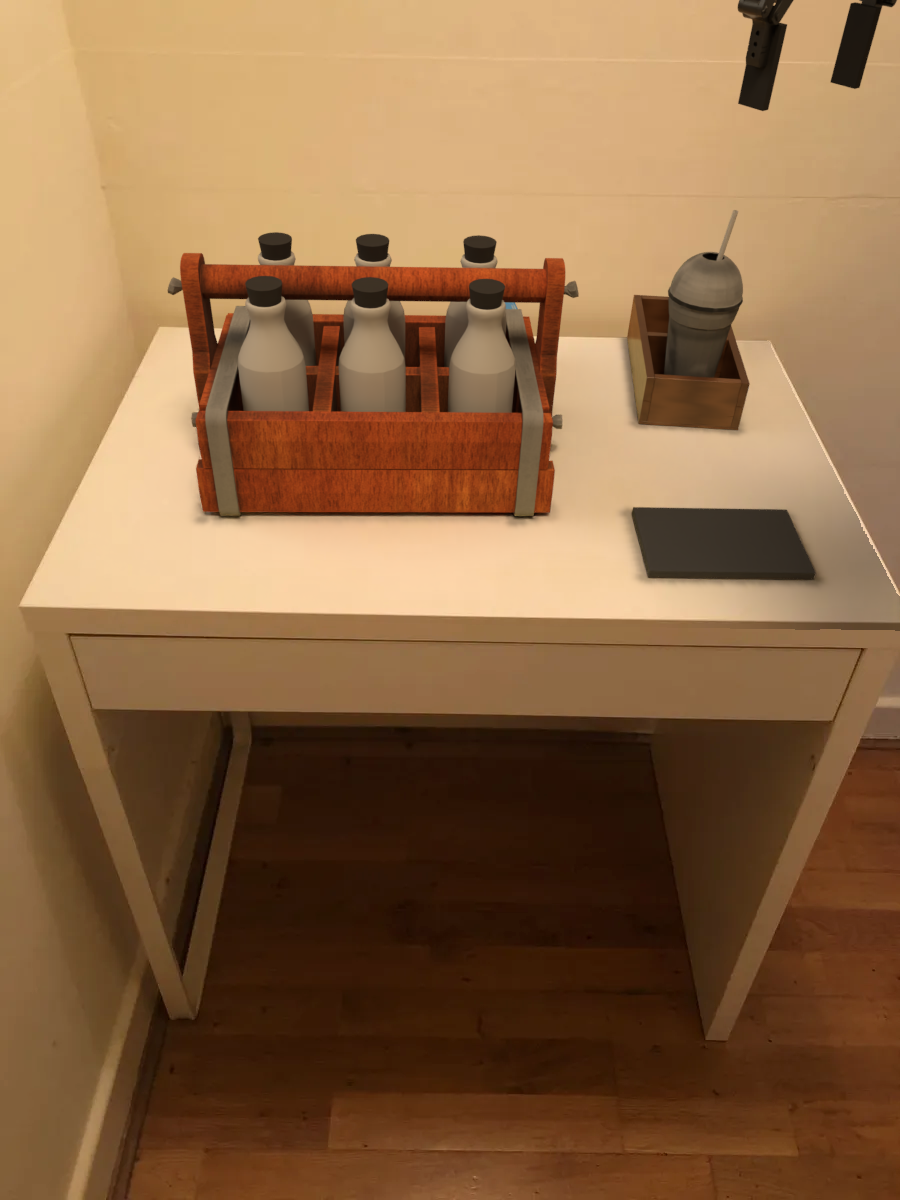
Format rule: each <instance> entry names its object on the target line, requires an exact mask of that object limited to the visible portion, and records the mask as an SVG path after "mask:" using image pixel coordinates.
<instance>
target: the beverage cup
mask: <svg viewBox="0 0 900 1200" xmlns="http://www.w3.org/2000/svg"><path fill="white" fill-rule="evenodd" d="M738 214H739V210H737V209H733V210H732V212H731V216H730V219H729V221H728V224H727V227H726V230H725V233H724V236H723V239H722V242H721V244H720V248H719V251H718V252H716V251H705V252H704V251H703V252H699V253H697V254H695V255H693V256H691V257H689V258H687V259H686V260H685V261H684V262H683V263H682V264H681V265H680V267H679V268H678V269H677V271H676V272H675V274H674V276H673V278H672V280H671V283H670V286H669V287H668V289H667V297H669V324H668V334H667V344H666V355H665V365H664V375H677V376H693V377H709V378H714V376H715V373H716V370H717V367H718V364H719V361H720V358H721V355H722V352H723V349H724V345H725V342H726V339H727V336H728V333H729V330H730V327H731V326H732V324H733V322H734V321H735V319H736V317H737V315H738V312H739V310H740V307H741V306H742V304H743V303H744V300H743V299H744V298H743V294H744V283H743V277H742V274H741V271H740V269H739V267H738V266H737V264H735V263H736V262H734V261H733V260H732V259H731V258H729V257H728V256H727V255H725V252H726V251H727V247H728V244H729V241H730V238H731V234H732V232H733V229H734V226H735V223H736V220H737V217H738Z"/></svg>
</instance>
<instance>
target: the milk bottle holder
mask: <svg viewBox="0 0 900 1200" xmlns="http://www.w3.org/2000/svg"><path fill="white" fill-rule="evenodd" d="M257 240H258V245H259V248H260V252H259V254H258V255H257V262H258V264H225V263H224V264H223V263H222V264H221V263H220V264H218V263H216V264H215V263H213V264H212V263H206V260H205V257H204V254H203V253H202V252H183V253H182V255H181V257H180V263H179V276H180V279H179V278H176V277H174V276H173V277H172V278H171V279H170V280H169V283H168V286H167V294H169V295H172V296H175V295H176V294H179V293H180V292H182V295H183V301H184V308H185V314H186V320H187V321H186V322H187V328H188V334H189V339H190V347H191V354H192V355H191V356H192V374H193V379H194V385H195V386H194V387H195V391H196V398H197V404H198V411H193V412H191V417H190V418H191V426H192V427H193V428H196V434H197V435H196V437H197V443H198V448H199V453H200V458H198V461H197V464H196V468H195V471H196V479H197V486H198V487H197V488H198V493H199V498H200V503H201V507H202V513H219V516H223V517H224V516H231V517H232V516H233V517H234V516H235V517H236V516H237V517H238V516H241V515H242V513H513V516H514V517H534V514H535V513H551V506H552V502H553V501H552V499H553V493H554V483H555V472H556V470H555V465H554V461H553V460H550V456H551V455H550V454H551V447H552V440H553V439H552V437H553V428H554V429H556V430H562V429H563V414H554V415H553V409H554V400H555V393H556V391H555V390H556V382H557V369H558V368H557V367H558V351H559V342H560V341H559V340H560V331H561V323H562V315H563V314H562V313H563V304H564V298H565V297H564V295H566V296H568V297H570V298H572V299H575V298H578V297H579V295H580V294H579V288H578V284H577V281H576V280H573V281H569V282H568V283H567V284H566V263H565V260H564V258H563V257H545V258H544V259H543V260H544V261H543V267H542V268H522V267H521V268H517V267H515V268H513V267H511V268H510V267H497V265H498V258H497V257H496V255H495V253H496V248H497V244H498V243H497V240H496V239H495V238H493V237H491V236H486V235H479V234H478V235H470V236H466V237H465V238H464V239H463V241H462V244H463V251H464V254H462V255H461V259H460V265H461V267H449V266H447V267H445V266H443V267H441V266H440V267H438V266H437V267H436V266H435V267H434V266H391V264H392V261H393V259H392V257H391V254H390V253H389V247H390V238H389V237H388V236H386V235H383V234H381V233H380V234H379V233H366V234H360V235H359V236H357V237H356V238H355V244H356V249H357V253H356V254H355V256H354V259H353V260H354V263H355V265H298V264H297V265H295V264H296V255H295V253H294V252H293V251H292V247H293V246H292V245H293V237H292V235H290V234H289V233H286V232H279V231H276V232H275V231H274V232H267V233H263V234H261V235H259V236H258V238H257ZM211 300H245V301H244V303H245V304H244V305H235V307H234V311H233V312H228V313H227V314H226V315H225V318H224V322H223V325H222V329H221V332H220V335H219V338H218V340H217V337H216V333H215V332H216V331H215V324H214V317H213V310H212V303H211V302H212V301H211ZM309 301H346V303H345V306H344V310H343V314H342V313H339V314H337V313H336V314H335V313H329V314H328V313H313V311H312V306H311V303H310V302H309ZM402 302H431V303H432V302H437V303H438V302H441V303H449V304H448V306H447V309H446V312H445V313H446V314H445V315H437V314H435V315H434V314H433V315H431V314H430V315H428V314H427V315H426V314H425V315H424V314H423V315H422V314H405V308H404V307H403V304H402ZM504 302H514V303H515V304H518V303H520V304H522V303H526V304H529V303H531V304H532V303H533V304H539V306H538V318H537V326H536V327H537V328H536V339H535V336H534V333H533V328H532V324H531V323H532V322H531V318H530V317H531V316H523V315H524V314H523V310H522V309H521V308H518V309H506V304H505V303H504Z"/></svg>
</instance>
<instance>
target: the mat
mask: <svg viewBox="0 0 900 1200" xmlns="http://www.w3.org/2000/svg"><path fill="white" fill-rule="evenodd" d="M631 516H632V520H633V523H634V528H635V531H636V535H637V539H638V543H639V547H640V550H641V554H642V559H643V562H644V566H645V570H646V574H647V578H649V579H651V578H653V579H655V578H656V579H722V580H723V579H724V580H725V579H727V580H728V579H730V580H731V579H732V580H735V579H736V580H794V581H795V580H801V581H802V580H804V581H805V580H806V581H807V580H809V581H811V580H812V581H813V580H815V577H816V574H817V572H816V570H815V567H814V565H813V562H812V561H811V558H810V557H809V554H808V552H807V550H806V548H805V546H804V544H803V541H802V539H801V537H800V535H799V532H798V531H797V528H796V526H795V524H794V523H793V520H792V518H791V515H790V514H789V511H788V510H787V509H780V508H779V509H778V508H777V509H773V508H772V509H771V508H770V509H769V508H766V509H765V508H718V507H717V508H715V507H714V508H713V507H712V508H709V507H708V508H707V507H706V508H705V507H652V506H651V507H643V506H638V507H637V506H634V507H632V511H631Z"/></svg>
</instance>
